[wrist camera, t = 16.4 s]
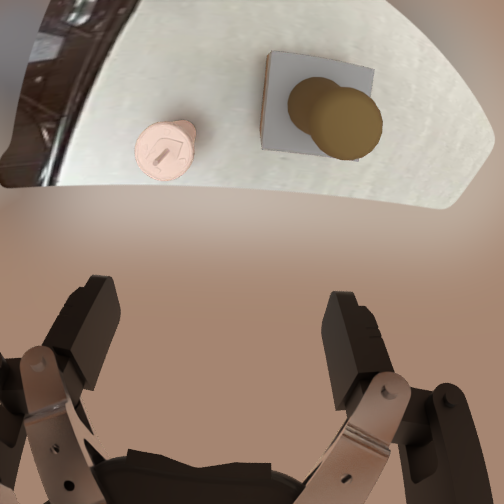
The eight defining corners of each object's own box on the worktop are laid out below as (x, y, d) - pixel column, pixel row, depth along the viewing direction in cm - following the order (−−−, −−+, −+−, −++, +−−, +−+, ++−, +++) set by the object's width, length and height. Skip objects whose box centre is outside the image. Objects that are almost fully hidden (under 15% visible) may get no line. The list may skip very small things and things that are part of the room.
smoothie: (214, 144, 39) (196, 181, 27) (172, 163, 40) (139, 208, 28) (193, 101, 35) (163, 119, 24) (150, 123, 37) (106, 152, 25)
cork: (331, 66, 24) (373, 68, 15) (358, 120, 27) (407, 150, 18) (275, 93, 26) (288, 107, 17) (305, 146, 29) (331, 187, 20)
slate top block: (269, 53, 28) (272, 50, 24) (358, 68, 28) (374, 69, 24) (260, 138, 33) (261, 149, 29) (345, 149, 34) (358, 161, 30)
